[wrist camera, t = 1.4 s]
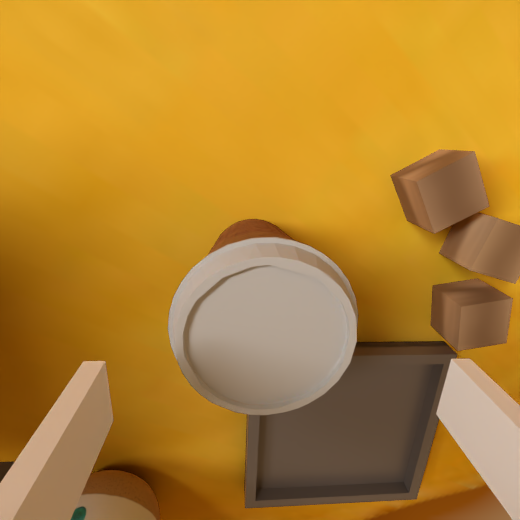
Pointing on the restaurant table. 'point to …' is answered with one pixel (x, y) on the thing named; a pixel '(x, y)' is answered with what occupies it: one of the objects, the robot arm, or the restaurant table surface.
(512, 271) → the cube
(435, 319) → the cube
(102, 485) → the vase
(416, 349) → the tray
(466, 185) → the cube
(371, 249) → the restaurant table surface
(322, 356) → the disposable coffee cup
